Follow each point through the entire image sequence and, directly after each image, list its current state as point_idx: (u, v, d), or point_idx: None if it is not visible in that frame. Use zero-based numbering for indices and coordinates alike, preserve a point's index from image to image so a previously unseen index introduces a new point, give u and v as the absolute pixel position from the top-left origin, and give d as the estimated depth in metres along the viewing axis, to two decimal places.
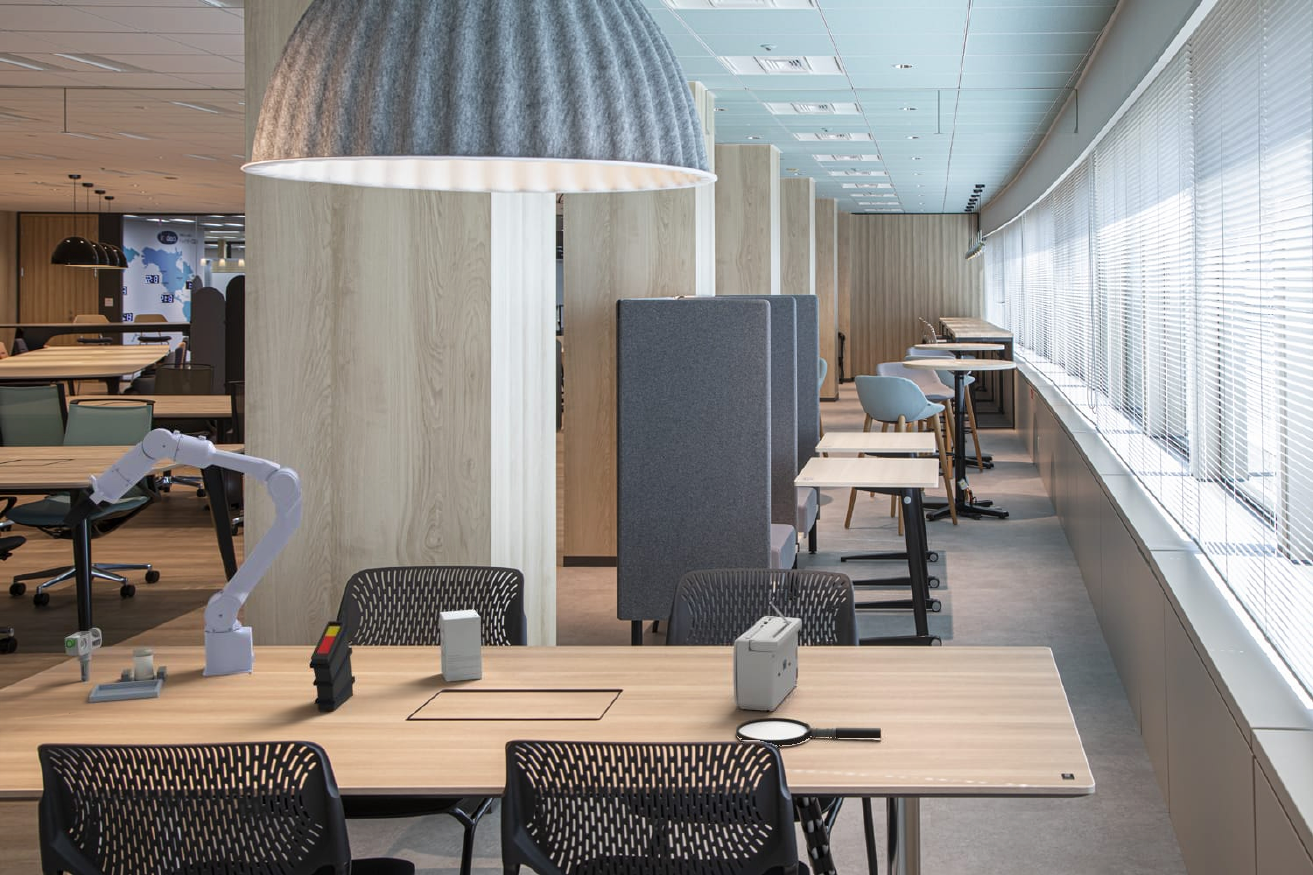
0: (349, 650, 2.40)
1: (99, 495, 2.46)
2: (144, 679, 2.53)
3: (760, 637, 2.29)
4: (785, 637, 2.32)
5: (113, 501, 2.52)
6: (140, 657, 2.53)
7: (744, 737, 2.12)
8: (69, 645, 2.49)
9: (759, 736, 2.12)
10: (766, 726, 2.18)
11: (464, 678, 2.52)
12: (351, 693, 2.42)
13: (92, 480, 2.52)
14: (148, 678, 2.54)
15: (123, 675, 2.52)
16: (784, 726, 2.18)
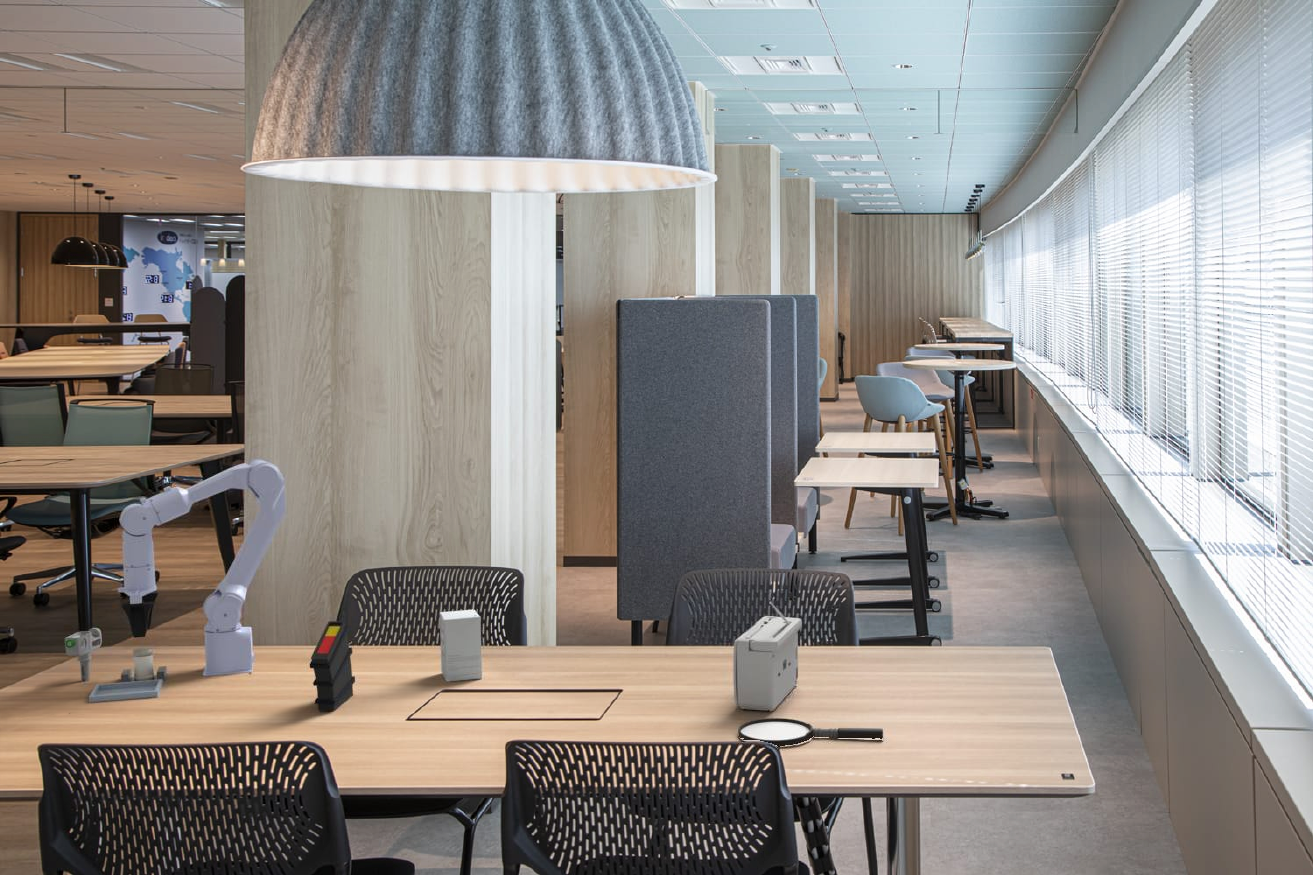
0: (349, 650, 2.40)
1: (135, 595, 2.47)
2: (144, 679, 2.53)
3: (760, 637, 2.29)
4: (785, 637, 2.32)
5: (152, 589, 2.53)
6: (140, 657, 2.53)
7: (746, 737, 2.11)
8: (69, 645, 2.49)
9: (761, 737, 2.12)
10: (768, 726, 2.18)
11: (464, 678, 2.52)
12: (351, 693, 2.42)
13: (122, 590, 2.52)
14: (148, 678, 2.54)
15: (123, 675, 2.52)
16: (786, 726, 2.18)
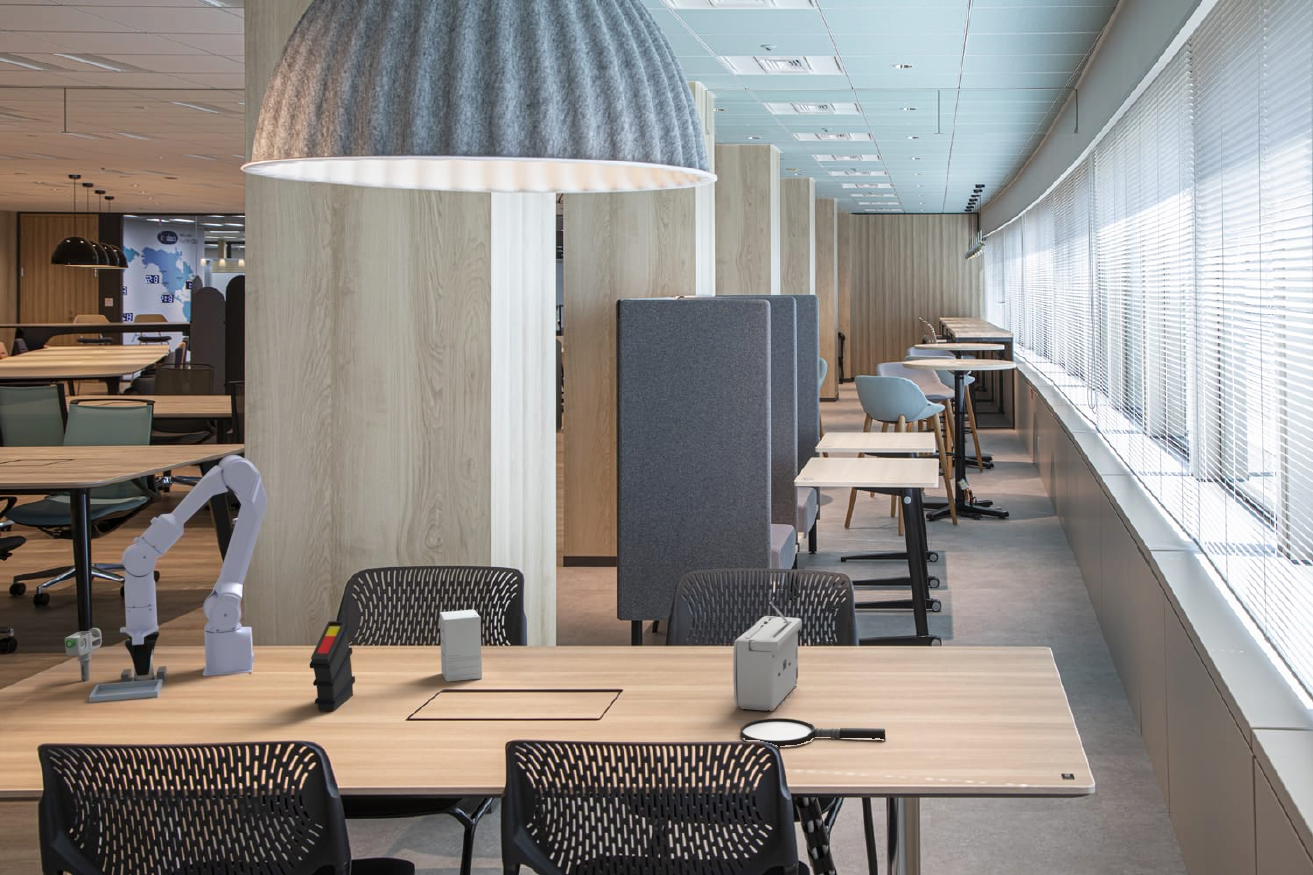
0: (349, 650, 2.40)
1: (137, 636, 2.47)
2: (144, 679, 2.53)
3: (760, 637, 2.29)
4: (785, 637, 2.32)
5: (154, 629, 2.53)
6: None
7: (748, 737, 2.11)
8: (69, 645, 2.49)
9: (763, 737, 2.12)
10: (770, 727, 2.18)
11: (464, 678, 2.52)
12: (351, 693, 2.42)
13: (124, 630, 2.52)
14: (148, 678, 2.54)
15: (123, 675, 2.52)
16: (788, 726, 2.18)
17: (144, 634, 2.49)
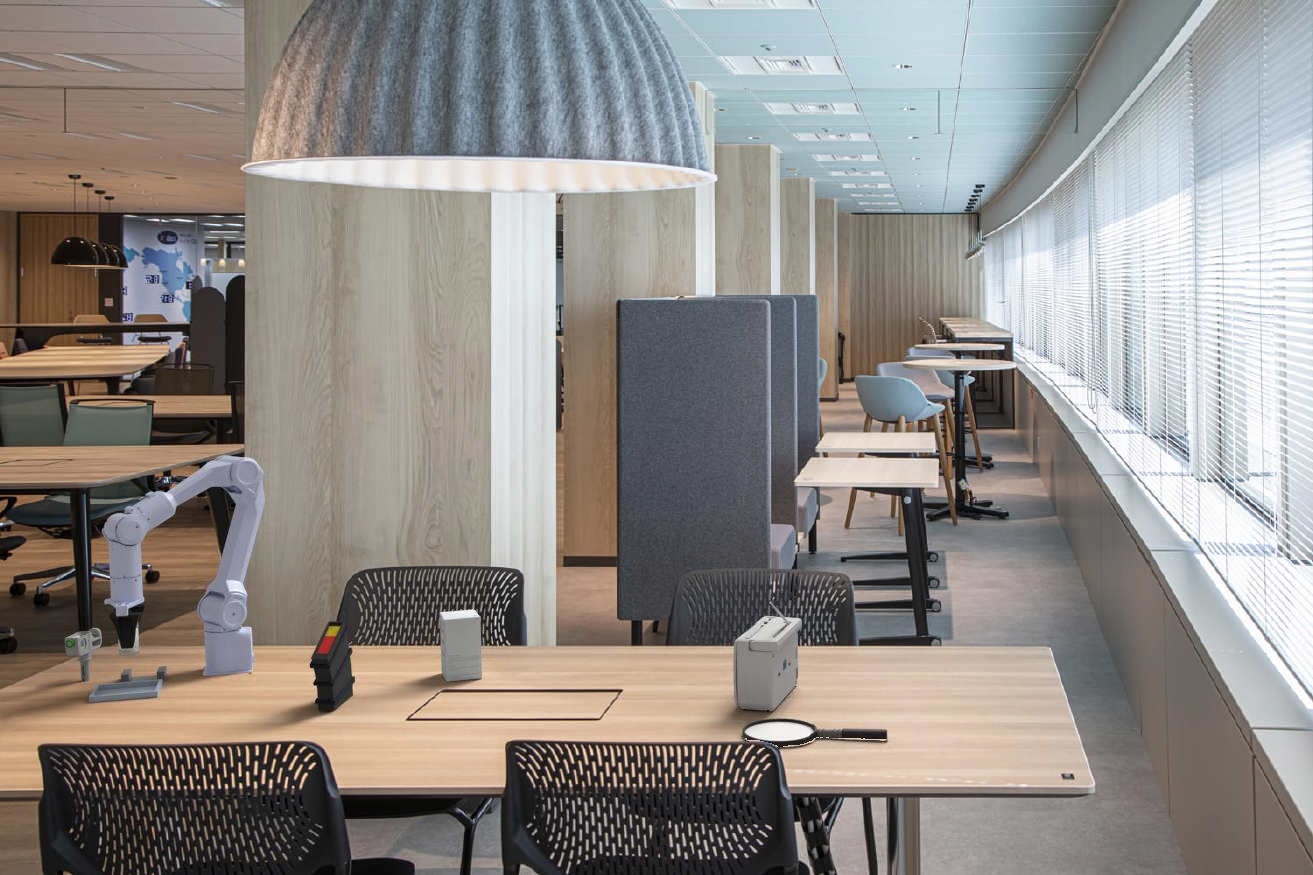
0: (349, 650, 2.40)
1: (121, 607, 2.39)
2: (129, 653, 2.45)
3: (760, 637, 2.29)
4: (785, 637, 2.32)
5: (140, 601, 2.45)
6: None
7: (750, 738, 2.11)
8: (69, 645, 2.49)
9: (765, 737, 2.12)
10: (772, 727, 2.18)
11: (464, 678, 2.52)
12: (351, 693, 2.42)
13: (109, 602, 2.45)
14: (133, 652, 2.46)
15: (123, 675, 2.52)
16: (790, 727, 2.17)
17: (129, 605, 2.41)
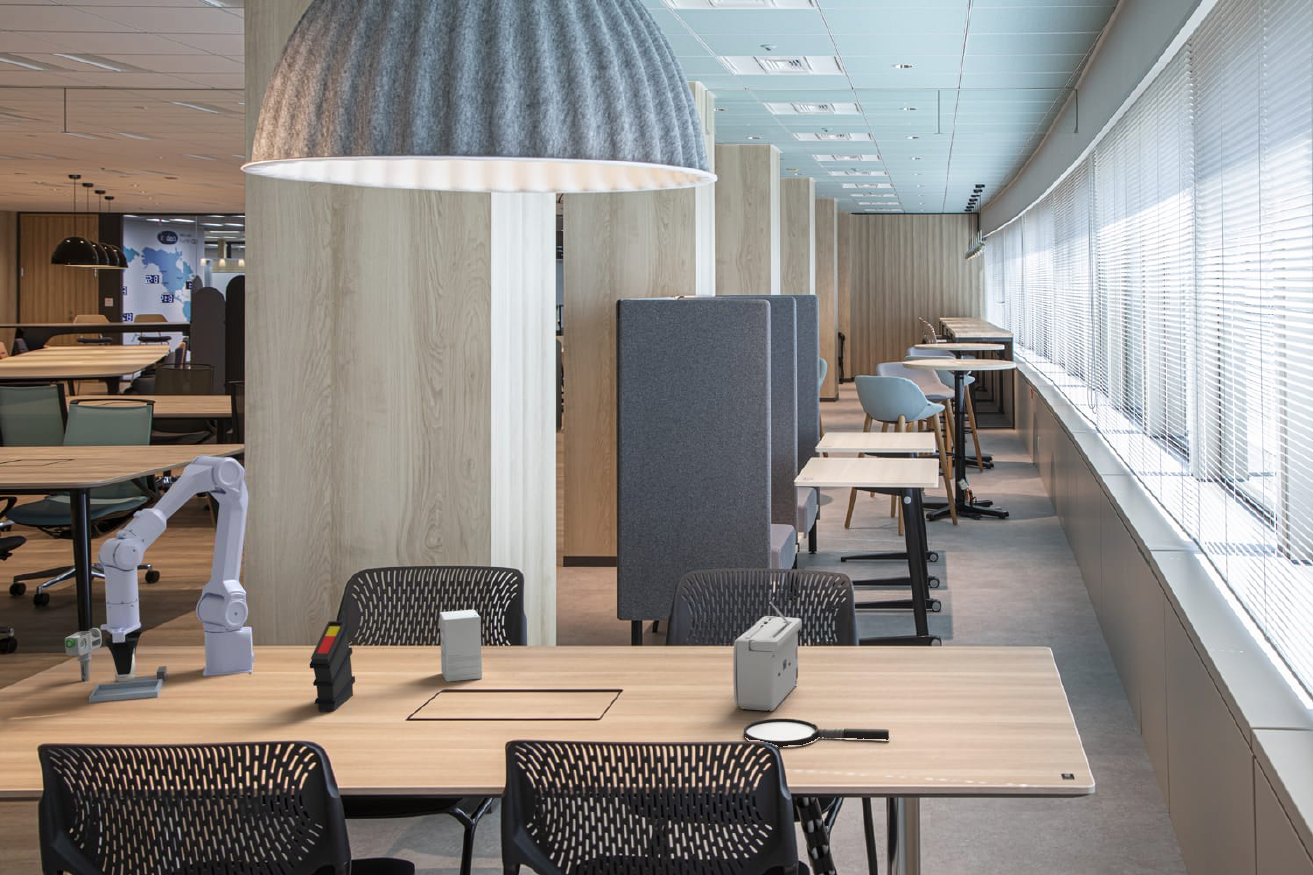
0: (349, 650, 2.40)
1: (118, 634, 2.37)
2: (125, 679, 2.43)
3: (760, 637, 2.30)
4: (785, 637, 2.32)
5: (136, 626, 2.43)
6: None
7: (751, 737, 2.11)
8: (69, 645, 2.49)
9: (766, 737, 2.12)
10: (774, 727, 2.18)
11: (464, 678, 2.52)
12: (351, 693, 2.42)
13: (105, 628, 2.42)
14: (129, 678, 2.43)
15: None
16: (792, 727, 2.17)
17: (125, 631, 2.38)
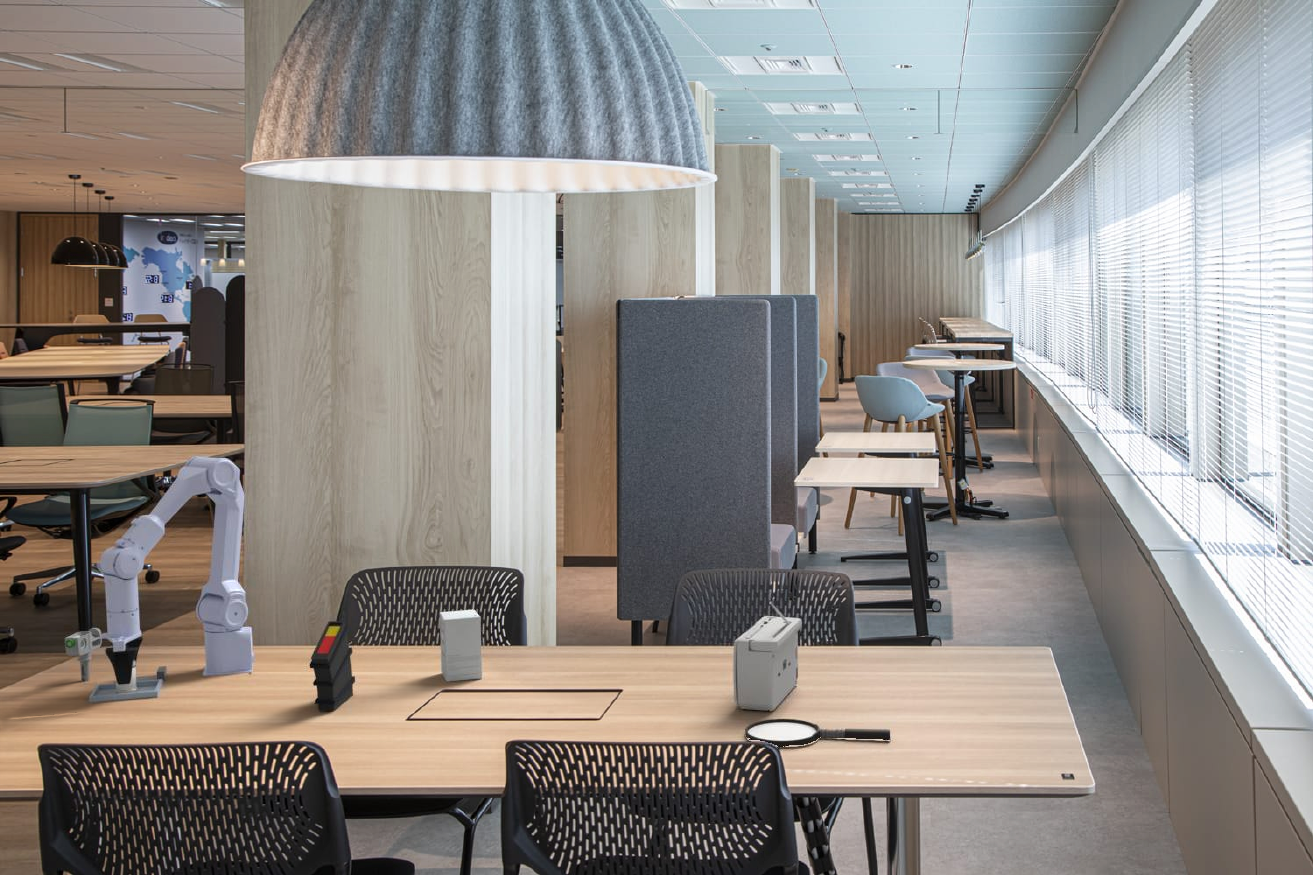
0: (349, 650, 2.40)
1: (118, 643, 2.37)
2: None
3: (760, 637, 2.29)
4: (785, 637, 2.32)
5: (137, 635, 2.43)
6: None
7: (752, 737, 2.11)
8: (69, 645, 2.49)
9: (767, 737, 2.12)
10: (775, 727, 2.18)
11: (464, 678, 2.52)
12: (351, 693, 2.42)
13: (105, 636, 2.42)
14: (130, 692, 2.44)
15: None
16: (793, 727, 2.17)
17: (126, 640, 2.39)
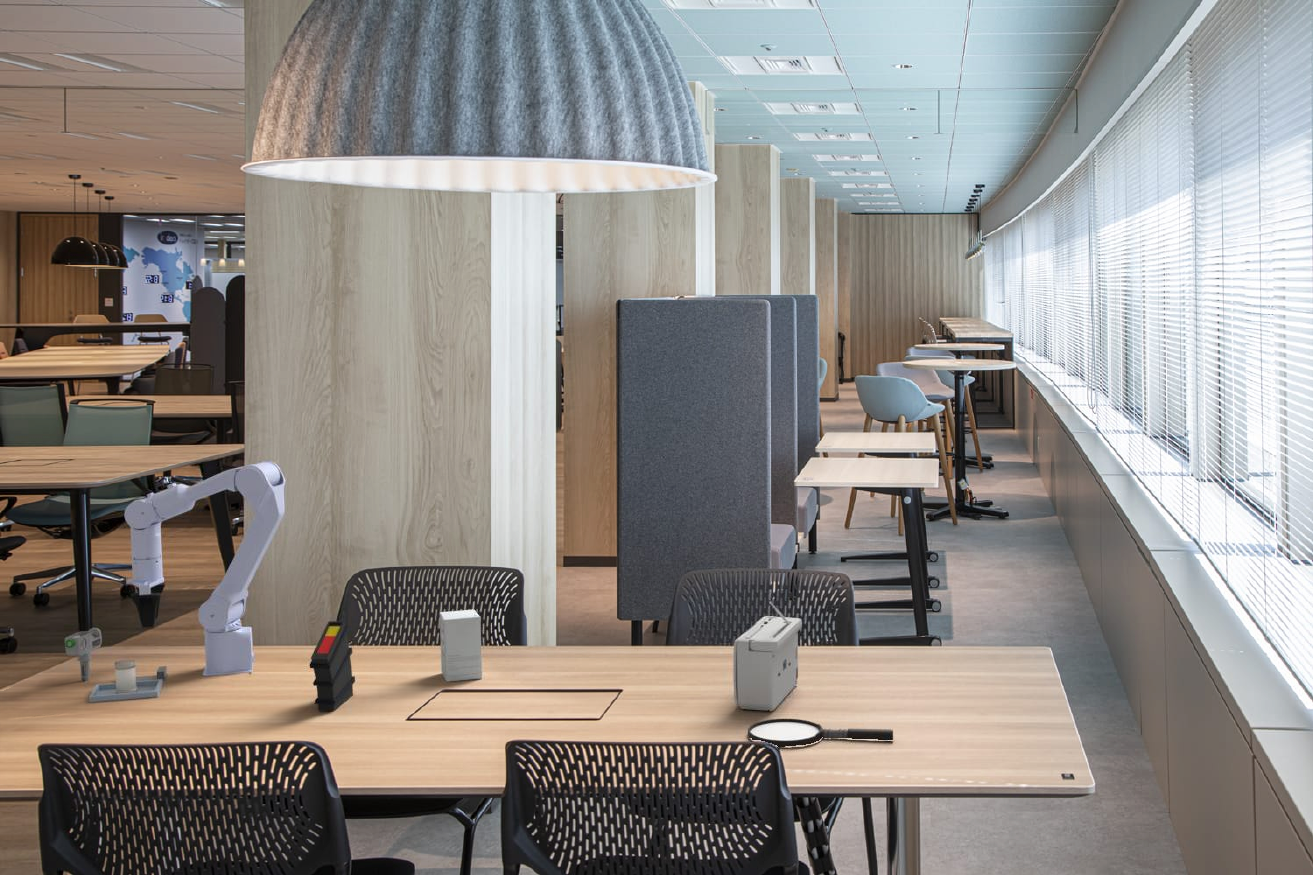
0: (349, 650, 2.40)
1: (144, 586, 2.55)
2: None
3: (760, 637, 2.30)
4: (785, 637, 2.32)
5: (160, 580, 2.61)
6: (122, 670, 2.43)
7: (755, 737, 2.11)
8: (69, 645, 2.49)
9: (770, 737, 2.12)
10: (778, 727, 2.18)
11: (464, 678, 2.52)
12: (351, 693, 2.42)
13: (131, 582, 2.60)
14: (130, 692, 2.44)
15: None
16: (796, 727, 2.17)
17: (151, 585, 2.56)
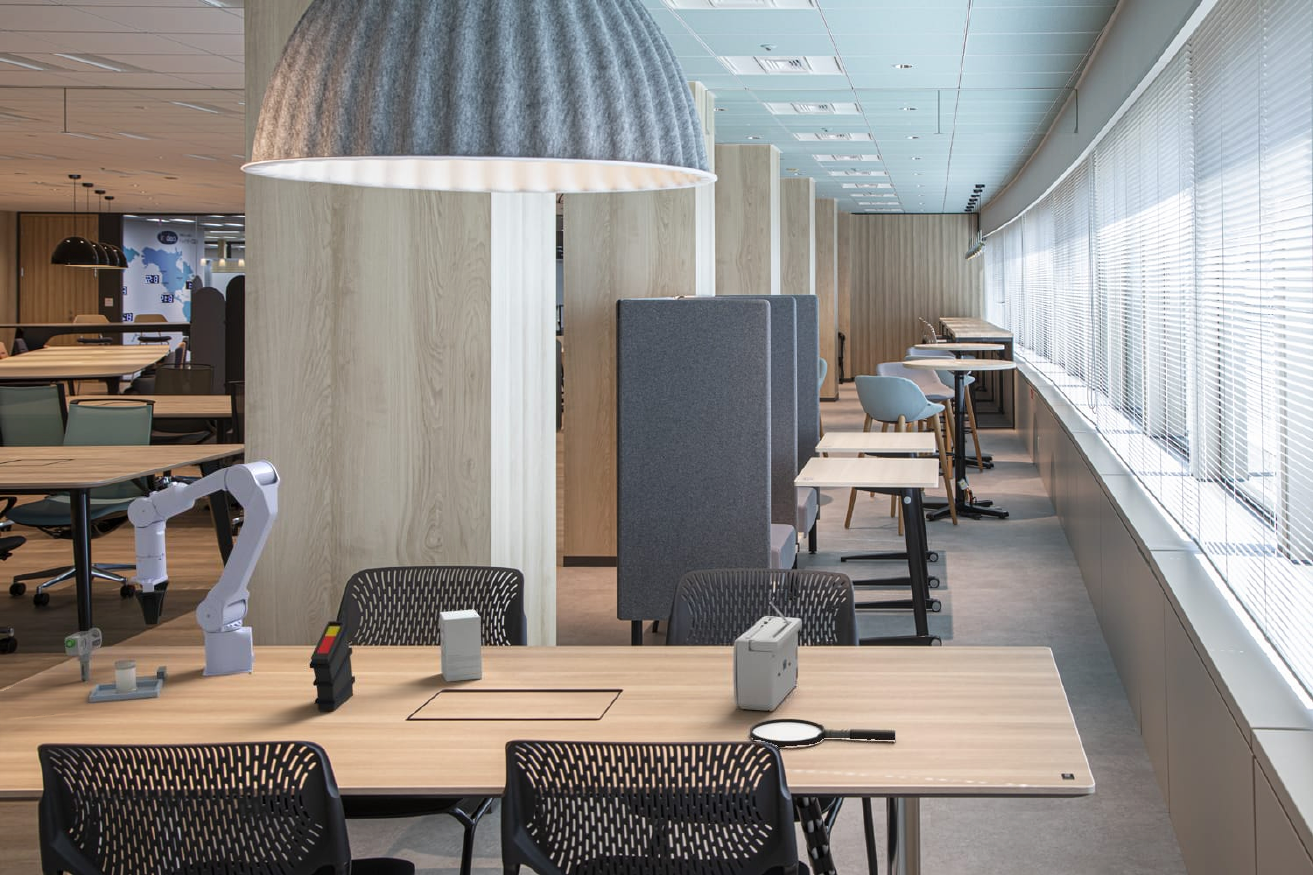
0: (349, 650, 2.40)
1: (147, 584, 2.57)
2: None
3: (760, 637, 2.29)
4: (785, 637, 2.32)
5: (164, 578, 2.63)
6: (122, 670, 2.43)
7: (757, 737, 2.11)
8: (69, 645, 2.49)
9: (772, 737, 2.12)
10: (780, 727, 2.17)
11: (464, 678, 2.52)
12: (351, 693, 2.42)
13: (135, 579, 2.63)
14: (130, 692, 2.44)
15: None
16: (798, 727, 2.17)
17: (154, 582, 2.59)
